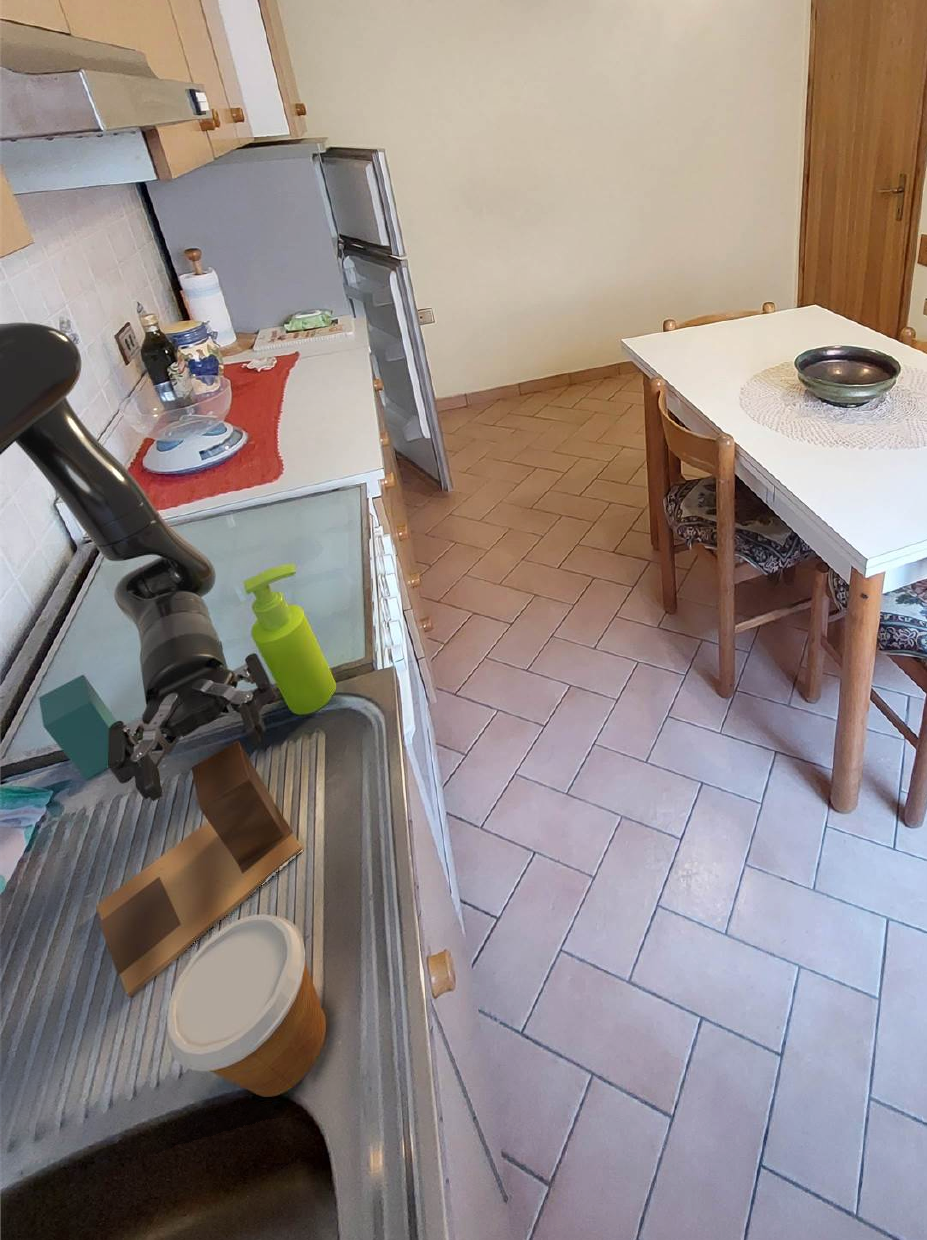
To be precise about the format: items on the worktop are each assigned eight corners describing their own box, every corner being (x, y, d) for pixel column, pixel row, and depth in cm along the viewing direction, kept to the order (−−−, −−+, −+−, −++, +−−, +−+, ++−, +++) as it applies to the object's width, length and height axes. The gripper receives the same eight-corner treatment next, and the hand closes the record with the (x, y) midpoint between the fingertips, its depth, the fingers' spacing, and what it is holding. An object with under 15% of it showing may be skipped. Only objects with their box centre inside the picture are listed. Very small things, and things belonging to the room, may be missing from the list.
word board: (128, 998, 61) (124, 994, 60) (98, 910, 68) (93, 905, 67) (304, 850, 71) (302, 845, 71) (262, 785, 78) (260, 781, 77)
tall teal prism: (86, 780, 80) (43, 726, 76) (80, 750, 84) (38, 697, 79) (129, 755, 83) (89, 700, 78) (121, 727, 87) (83, 673, 82)
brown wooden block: (239, 865, 69) (199, 808, 65) (229, 824, 73) (191, 767, 68) (284, 836, 72) (249, 778, 67) (272, 797, 76) (238, 740, 71)
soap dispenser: (349, 693, 88) (297, 577, 78) (292, 723, 85) (231, 606, 75) (338, 664, 92) (288, 551, 83) (284, 691, 89) (226, 577, 80)
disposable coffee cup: (271, 1156, 51) (208, 1096, 45) (199, 1078, 56) (132, 1013, 50) (369, 1013, 58) (325, 945, 53) (298, 954, 63) (250, 885, 57)
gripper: (90, 673, 70) (97, 789, 59) (240, 604, 78) (272, 694, 66) (123, 721, 74) (135, 838, 62) (263, 650, 81) (297, 743, 70)
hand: (205, 764), depth 64 cm, fingers open, 8 cm apart
